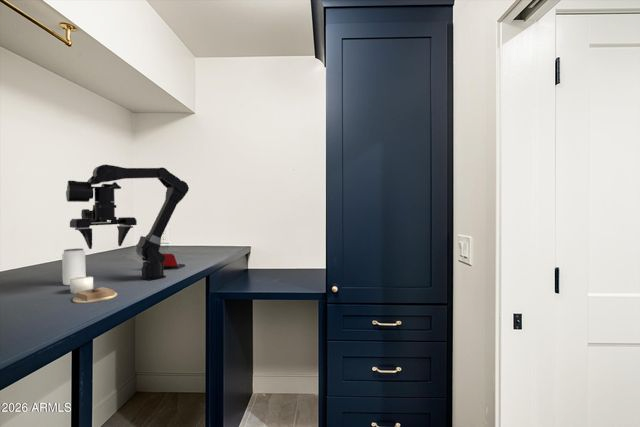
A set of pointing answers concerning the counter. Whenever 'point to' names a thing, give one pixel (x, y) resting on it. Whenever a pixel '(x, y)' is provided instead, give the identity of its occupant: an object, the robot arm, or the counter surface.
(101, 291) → the lid
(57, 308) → the counter surface
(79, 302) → the disc
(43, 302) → the counter surface
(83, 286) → the white short cylinder
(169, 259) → the red cap
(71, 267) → the can
